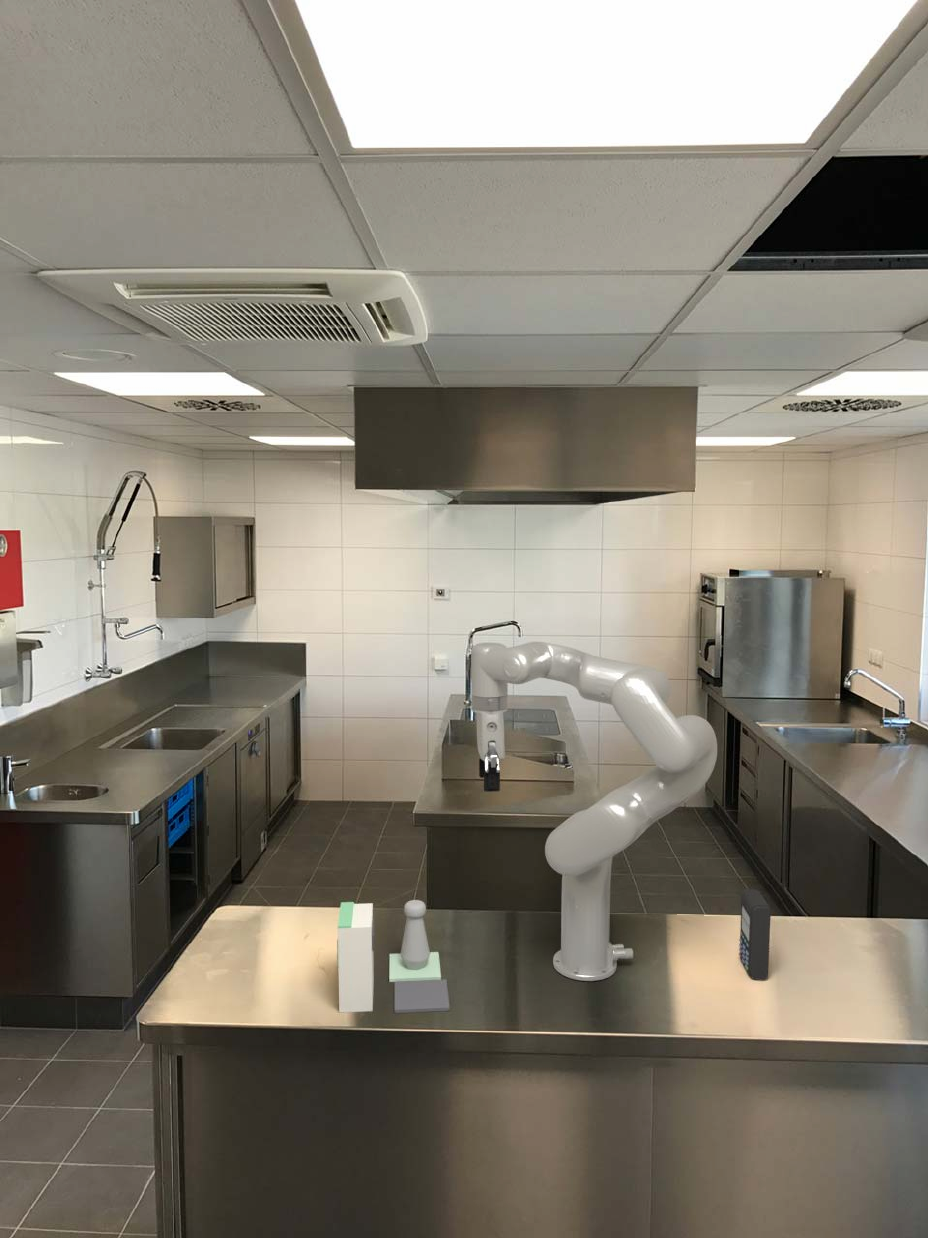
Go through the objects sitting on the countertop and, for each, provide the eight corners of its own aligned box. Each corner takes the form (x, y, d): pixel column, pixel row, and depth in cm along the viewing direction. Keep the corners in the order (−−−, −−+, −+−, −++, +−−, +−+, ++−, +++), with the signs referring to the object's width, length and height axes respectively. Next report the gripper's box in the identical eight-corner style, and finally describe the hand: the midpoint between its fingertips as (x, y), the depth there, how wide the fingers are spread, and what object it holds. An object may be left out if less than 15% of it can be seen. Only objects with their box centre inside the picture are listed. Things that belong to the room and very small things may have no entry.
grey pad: (446, 982, 170) (446, 979, 170) (449, 1010, 160) (449, 1007, 160) (394, 984, 169) (394, 981, 169) (394, 1013, 160) (394, 1010, 160)
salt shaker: (425, 974, 172) (425, 910, 171) (397, 971, 173) (396, 907, 172) (432, 959, 178) (432, 897, 177) (405, 956, 179) (404, 895, 178)
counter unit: (375, 982, 170) (374, 901, 168) (374, 1011, 160) (373, 925, 158) (340, 984, 170) (339, 902, 168) (337, 1012, 160) (336, 926, 158)
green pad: (438, 954, 181) (438, 952, 181) (440, 979, 171) (440, 977, 171) (389, 956, 180) (389, 954, 180) (389, 982, 170) (389, 979, 170)
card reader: (736, 957, 180) (739, 887, 178) (756, 958, 179) (759, 887, 178) (748, 981, 171) (751, 906, 169) (769, 981, 170) (772, 907, 169)
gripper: (513, 711, 173) (512, 796, 175) (502, 694, 190) (502, 771, 192) (475, 712, 172) (475, 797, 174) (467, 695, 190) (467, 772, 191)
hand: (489, 784), depth 183 cm, fingers open, 9 cm apart
